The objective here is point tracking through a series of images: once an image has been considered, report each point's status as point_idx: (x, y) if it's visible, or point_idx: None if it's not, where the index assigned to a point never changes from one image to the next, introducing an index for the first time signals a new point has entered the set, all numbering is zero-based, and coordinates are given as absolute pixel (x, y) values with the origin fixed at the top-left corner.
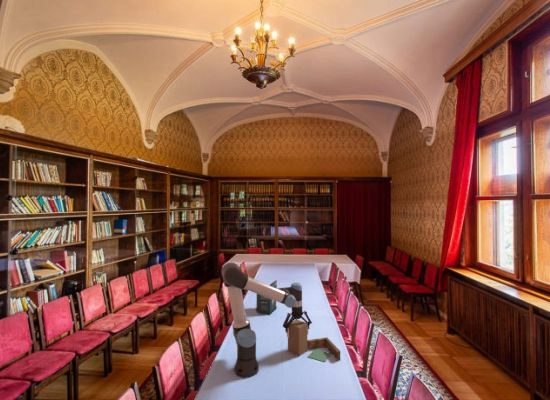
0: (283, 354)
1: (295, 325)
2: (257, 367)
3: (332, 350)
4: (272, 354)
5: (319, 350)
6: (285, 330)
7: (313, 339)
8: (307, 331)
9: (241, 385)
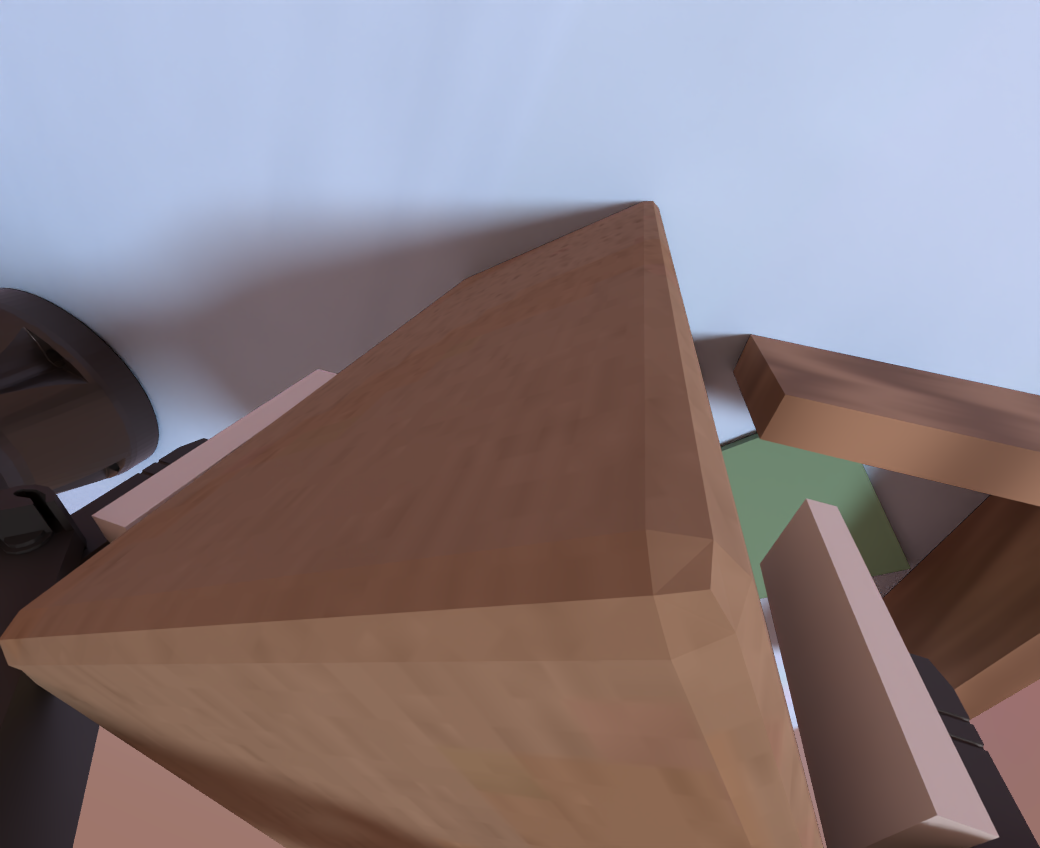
0: (393, 318)
1: (288, 838)
2: (122, 458)
3: (927, 627)
4: (271, 257)
5: (852, 471)
6: (160, 466)
7: (933, 438)
8: (784, 633)
9: (91, 493)
